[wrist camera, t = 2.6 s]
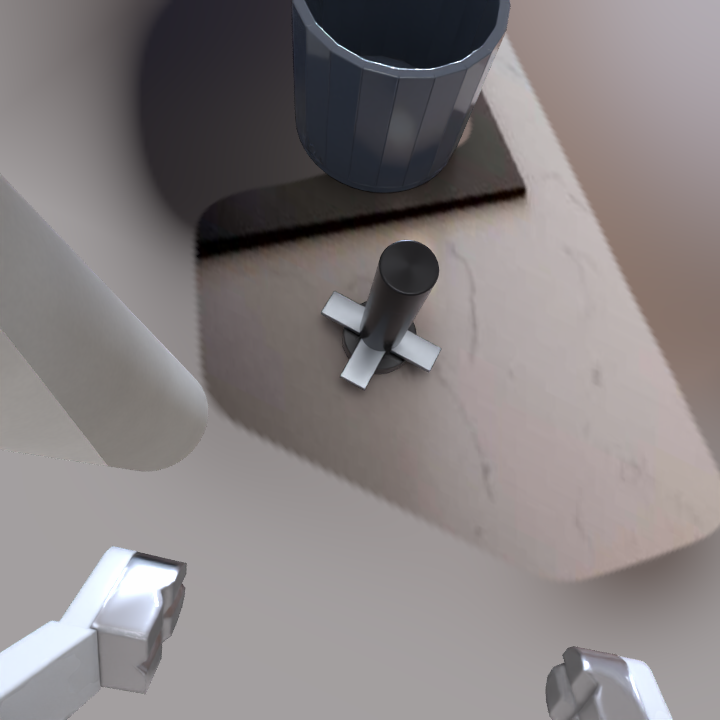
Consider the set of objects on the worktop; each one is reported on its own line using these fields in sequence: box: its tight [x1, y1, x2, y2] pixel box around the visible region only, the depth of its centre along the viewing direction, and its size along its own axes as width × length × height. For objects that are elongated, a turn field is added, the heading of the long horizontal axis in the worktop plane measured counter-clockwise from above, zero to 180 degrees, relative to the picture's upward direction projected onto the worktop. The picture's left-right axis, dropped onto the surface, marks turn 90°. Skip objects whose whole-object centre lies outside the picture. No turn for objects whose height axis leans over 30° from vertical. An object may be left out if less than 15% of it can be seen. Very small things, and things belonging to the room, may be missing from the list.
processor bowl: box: [291, 0, 510, 193], centre depth 30 cm, size 12×12×10 cm
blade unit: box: [321, 240, 441, 390], centre depth 25 cm, size 7×7×10 cm
